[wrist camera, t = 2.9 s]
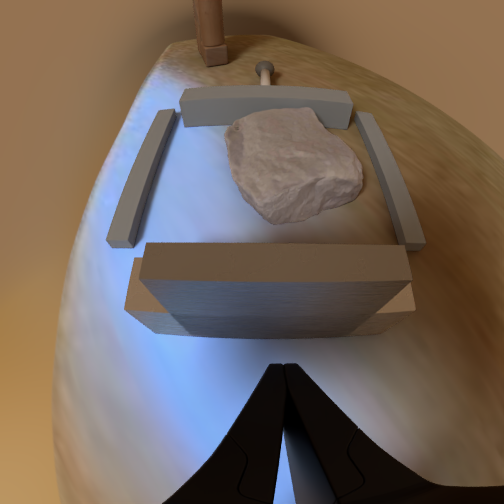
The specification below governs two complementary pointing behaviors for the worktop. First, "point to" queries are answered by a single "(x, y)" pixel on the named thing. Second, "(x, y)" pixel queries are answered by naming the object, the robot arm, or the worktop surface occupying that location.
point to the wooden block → (210, 31)
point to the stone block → (291, 164)
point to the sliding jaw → (270, 289)
